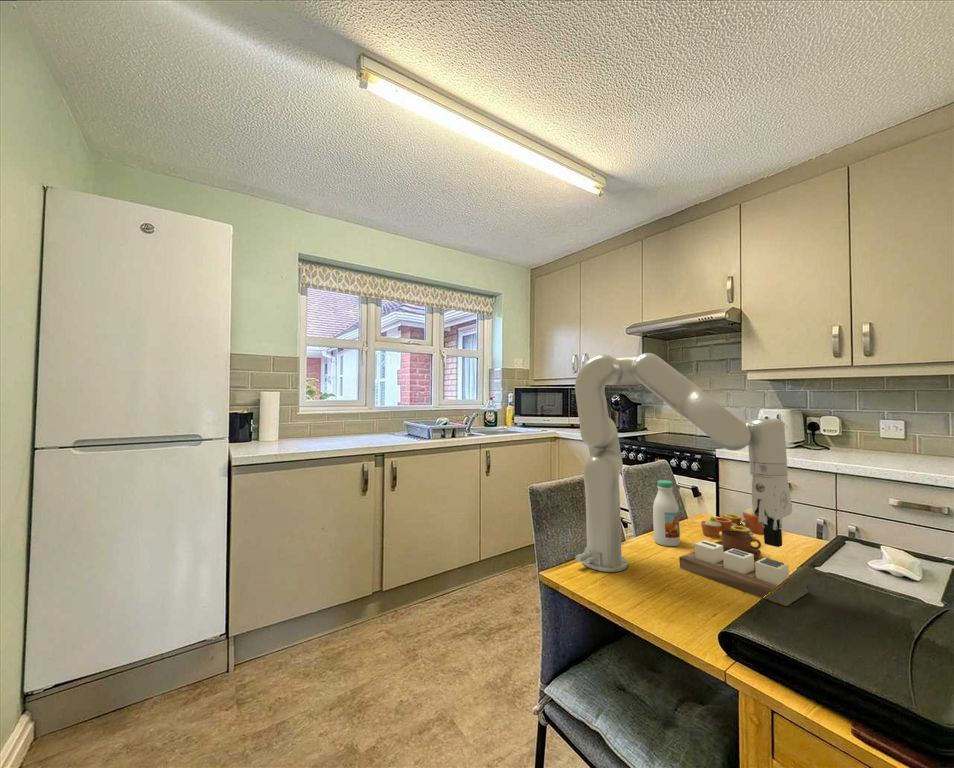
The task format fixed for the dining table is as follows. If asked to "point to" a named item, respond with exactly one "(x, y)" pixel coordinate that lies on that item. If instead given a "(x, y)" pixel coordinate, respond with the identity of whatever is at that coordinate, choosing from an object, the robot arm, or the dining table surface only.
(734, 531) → the cup and saucer
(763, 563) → the tile three
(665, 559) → the dining table surface
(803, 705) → the dining table surface
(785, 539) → the dining table surface
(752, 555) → the tile two
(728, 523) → the toy tea set
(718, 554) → the tile one
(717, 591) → the dining table surface
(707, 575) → the board
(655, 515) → the milk bottle
